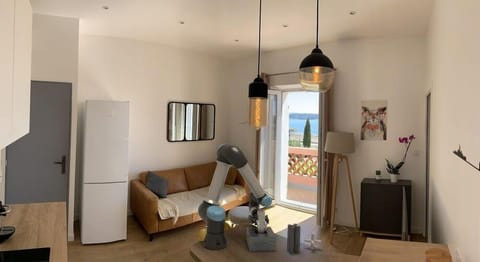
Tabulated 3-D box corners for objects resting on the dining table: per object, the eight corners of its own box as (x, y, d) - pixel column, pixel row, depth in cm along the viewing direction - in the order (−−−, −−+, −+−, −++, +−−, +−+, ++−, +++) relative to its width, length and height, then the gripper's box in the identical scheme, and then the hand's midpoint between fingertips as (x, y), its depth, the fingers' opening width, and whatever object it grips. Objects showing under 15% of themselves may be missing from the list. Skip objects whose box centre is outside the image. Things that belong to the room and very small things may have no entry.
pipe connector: (321, 253, 179) (321, 237, 178) (304, 251, 181) (304, 235, 180) (320, 246, 189) (320, 231, 188) (304, 244, 191) (304, 229, 190)
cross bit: (285, 252, 179) (286, 226, 178) (288, 247, 186) (289, 222, 185) (298, 255, 176) (298, 228, 175) (300, 250, 183) (301, 224, 182)
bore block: (249, 251, 179) (250, 236, 179) (246, 240, 195) (246, 226, 195) (275, 250, 181) (275, 236, 181) (270, 239, 197) (270, 226, 197)
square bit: (257, 242, 186) (258, 211, 185) (256, 240, 190) (257, 209, 189) (264, 242, 186) (265, 211, 185) (263, 240, 190) (263, 209, 189)
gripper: (268, 218, 206) (275, 231, 183) (244, 219, 205) (248, 232, 181) (268, 208, 206) (276, 220, 183) (244, 208, 204) (248, 220, 181)
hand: (262, 226), depth 182 cm, fingers closed on square bit, 4 cm apart
